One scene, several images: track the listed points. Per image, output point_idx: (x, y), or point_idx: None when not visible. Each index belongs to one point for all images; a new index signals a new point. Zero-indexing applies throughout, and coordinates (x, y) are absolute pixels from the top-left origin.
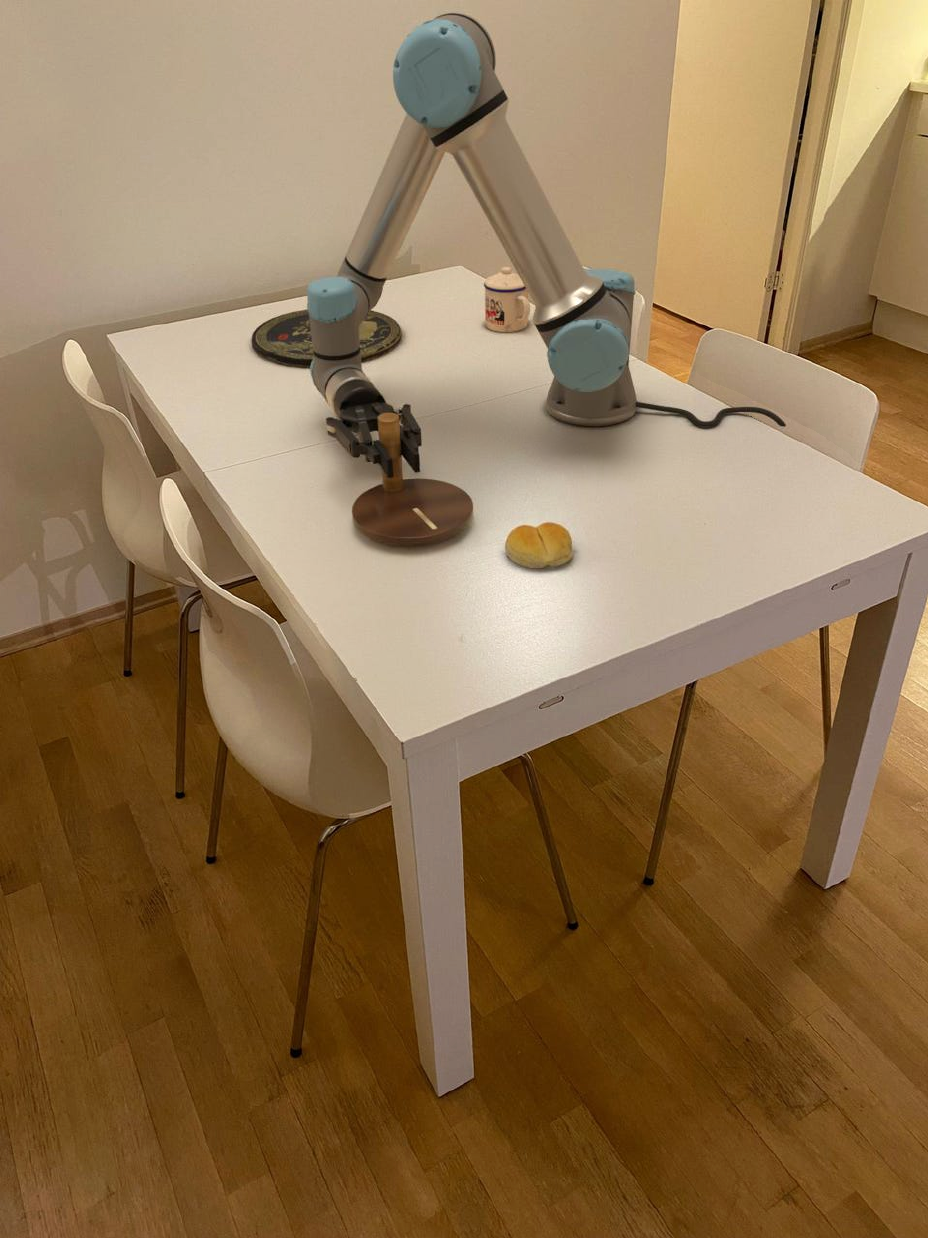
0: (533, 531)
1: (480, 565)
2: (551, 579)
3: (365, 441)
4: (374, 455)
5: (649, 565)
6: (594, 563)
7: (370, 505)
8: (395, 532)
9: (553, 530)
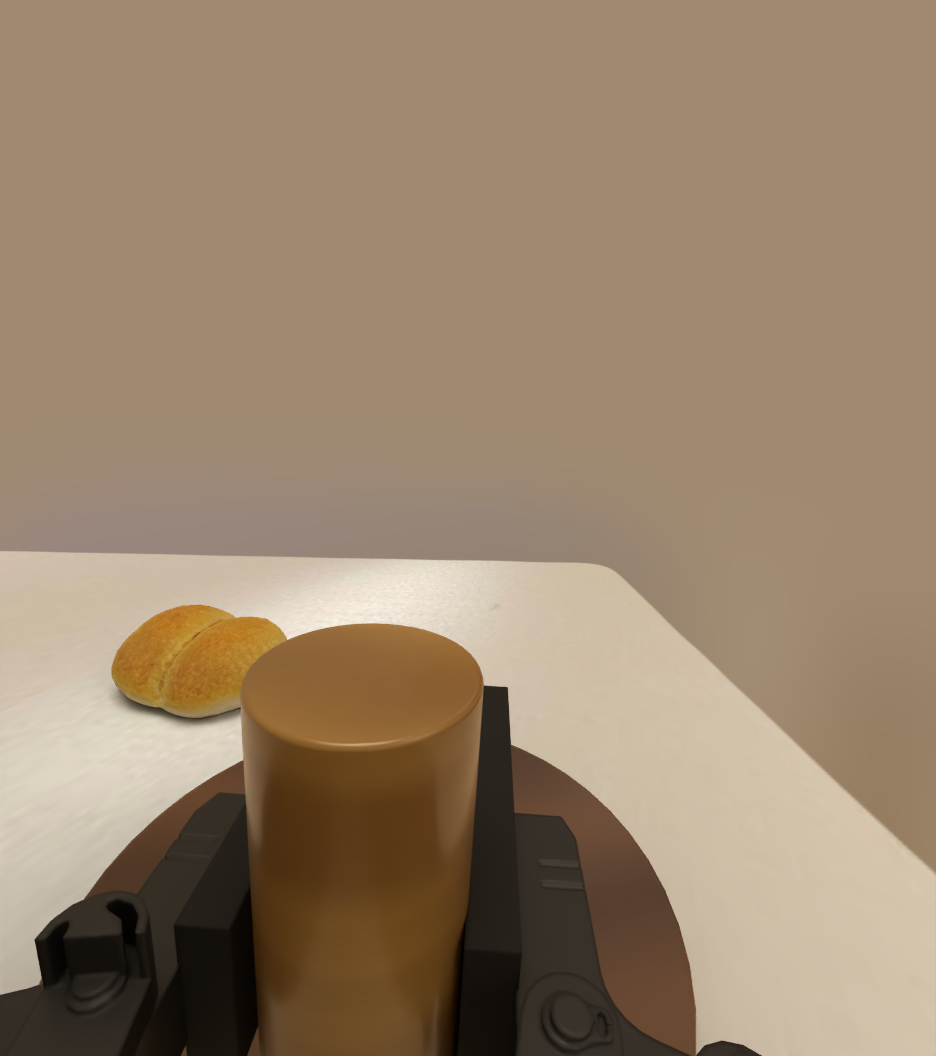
0: (218, 625)
1: None
2: None
3: (605, 1013)
4: (553, 819)
5: (100, 609)
6: None
7: None
8: (524, 772)
9: (189, 608)
